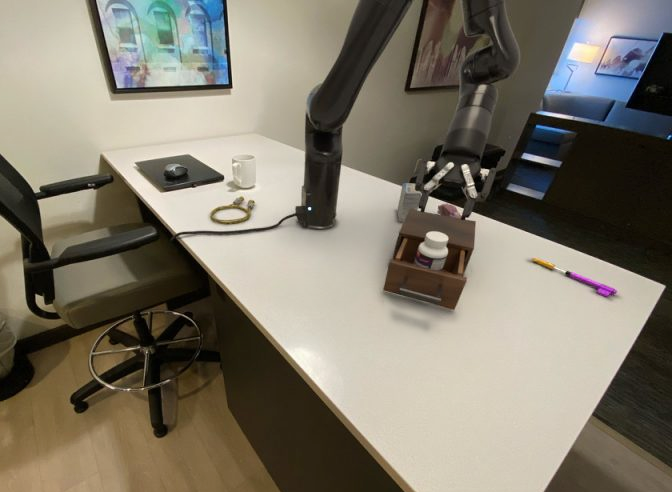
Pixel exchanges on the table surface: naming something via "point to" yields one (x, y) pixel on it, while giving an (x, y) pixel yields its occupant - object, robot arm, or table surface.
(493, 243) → the table surface
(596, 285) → the purple and yellow rod
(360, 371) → the table surface
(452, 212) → the video game controller
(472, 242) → the cabinet
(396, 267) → the drawer
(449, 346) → the table surface
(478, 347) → the table surface
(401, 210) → the medicine box
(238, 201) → the coiled yellow cable
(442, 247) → the pill bottle
